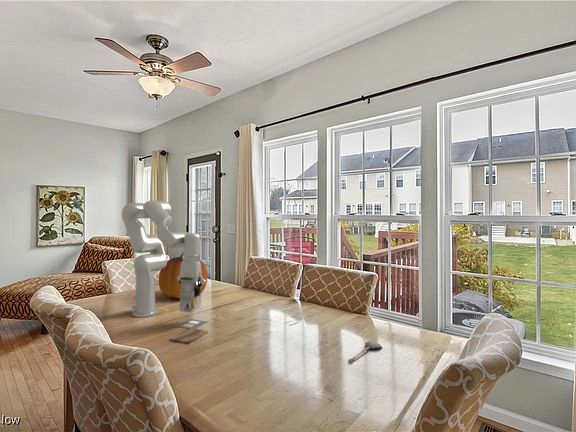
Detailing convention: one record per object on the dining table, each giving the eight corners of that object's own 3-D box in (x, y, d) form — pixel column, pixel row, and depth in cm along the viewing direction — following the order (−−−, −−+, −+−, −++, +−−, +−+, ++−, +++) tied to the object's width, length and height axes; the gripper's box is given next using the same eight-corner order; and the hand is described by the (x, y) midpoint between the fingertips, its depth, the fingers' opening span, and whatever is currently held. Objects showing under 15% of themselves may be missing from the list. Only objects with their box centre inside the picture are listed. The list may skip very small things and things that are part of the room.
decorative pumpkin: (194, 288, 225) (194, 246, 225) (215, 296, 203) (215, 250, 203) (152, 295, 205) (152, 249, 205) (170, 305, 183) (170, 254, 183)
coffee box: (189, 305, 158) (189, 274, 157) (200, 307, 156) (201, 275, 156) (179, 311, 149) (180, 278, 148) (191, 312, 147) (192, 279, 147)
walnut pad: (169, 340, 132) (169, 338, 132) (189, 329, 145) (189, 328, 145) (189, 344, 129) (189, 342, 129) (207, 332, 141) (207, 331, 141)
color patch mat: (174, 326, 149) (174, 325, 149) (189, 319, 159) (189, 318, 159) (193, 329, 145) (193, 329, 145) (207, 321, 155) (207, 321, 155)
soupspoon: (385, 349, 128) (370, 345, 132) (384, 341, 128) (370, 337, 132) (357, 366, 111) (342, 361, 116) (357, 356, 112) (341, 352, 116)
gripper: (171, 258, 151) (170, 294, 152) (201, 261, 145) (200, 299, 146) (182, 256, 158) (181, 291, 159) (211, 259, 152) (210, 295, 153)
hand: (190, 294), depth 152 cm, fingers closed on coffee box, 7 cm apart
